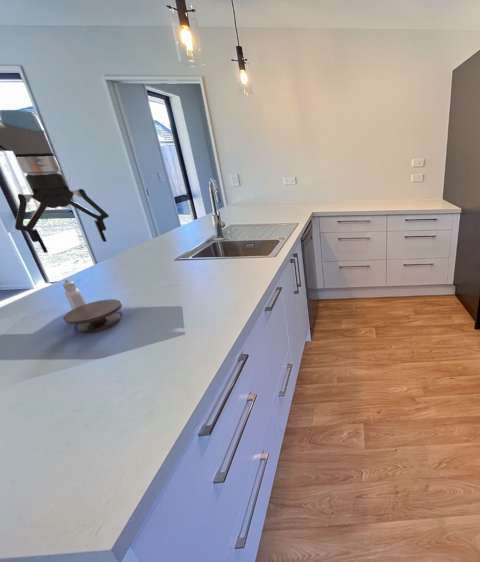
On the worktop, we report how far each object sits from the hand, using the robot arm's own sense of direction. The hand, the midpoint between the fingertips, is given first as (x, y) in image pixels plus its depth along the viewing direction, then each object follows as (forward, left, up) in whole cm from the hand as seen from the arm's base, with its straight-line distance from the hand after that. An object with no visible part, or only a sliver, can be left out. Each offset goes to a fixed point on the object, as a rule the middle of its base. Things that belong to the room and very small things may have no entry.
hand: (76, 246), depth 93 cm
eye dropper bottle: (-5, -3, -21) cm, 22 cm away
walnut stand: (+1, -15, -21) cm, 26 cm away
